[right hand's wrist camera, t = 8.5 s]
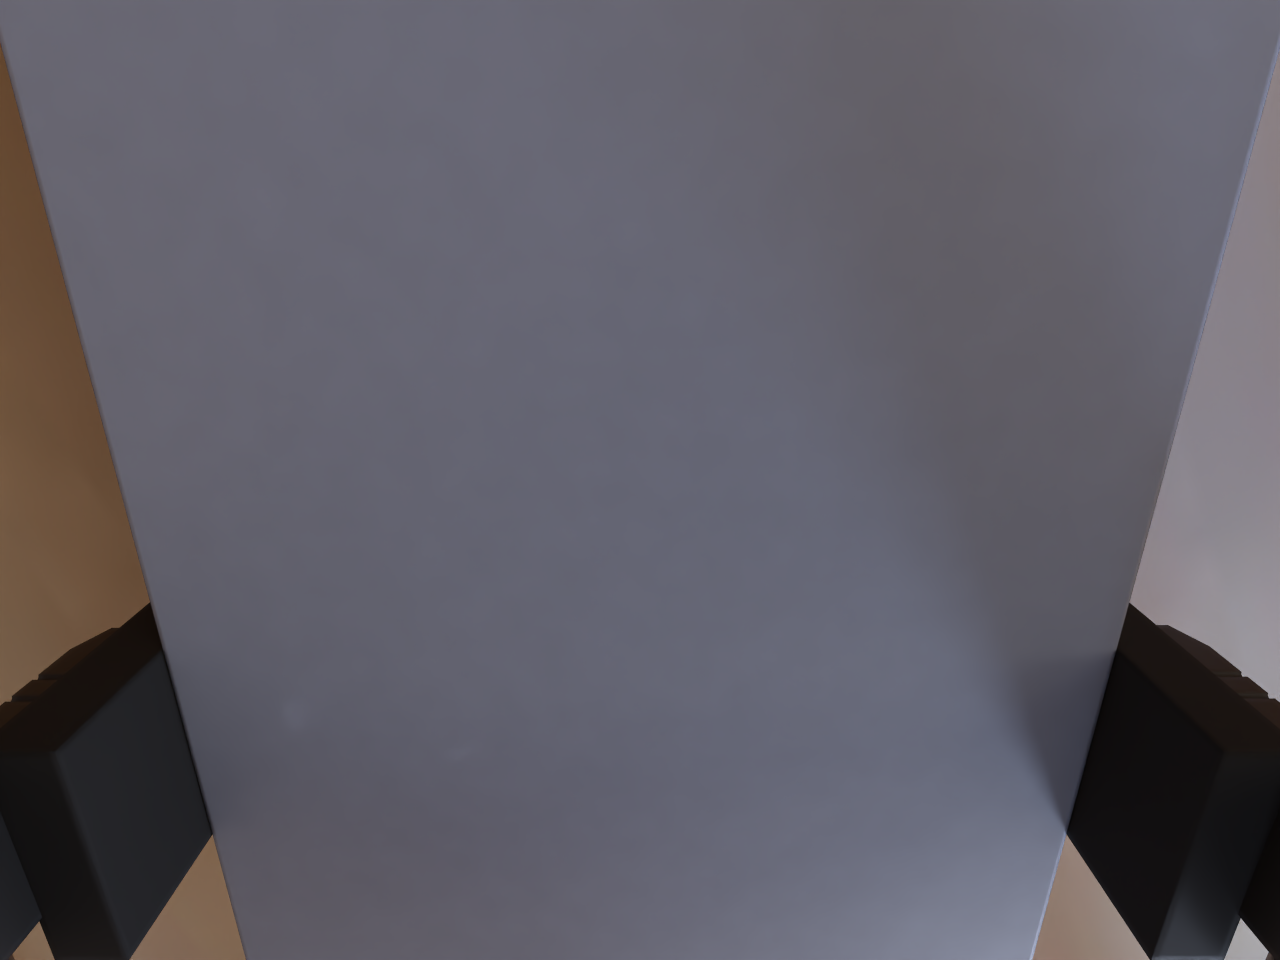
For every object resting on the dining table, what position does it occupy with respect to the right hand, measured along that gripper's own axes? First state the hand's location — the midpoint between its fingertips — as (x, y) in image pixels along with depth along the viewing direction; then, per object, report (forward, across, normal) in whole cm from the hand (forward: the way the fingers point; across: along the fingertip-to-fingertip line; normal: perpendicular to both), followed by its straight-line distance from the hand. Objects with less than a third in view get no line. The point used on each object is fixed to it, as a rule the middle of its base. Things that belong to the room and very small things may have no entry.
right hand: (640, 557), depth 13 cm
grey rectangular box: (+5, 0, -5) cm, 7 cm away
